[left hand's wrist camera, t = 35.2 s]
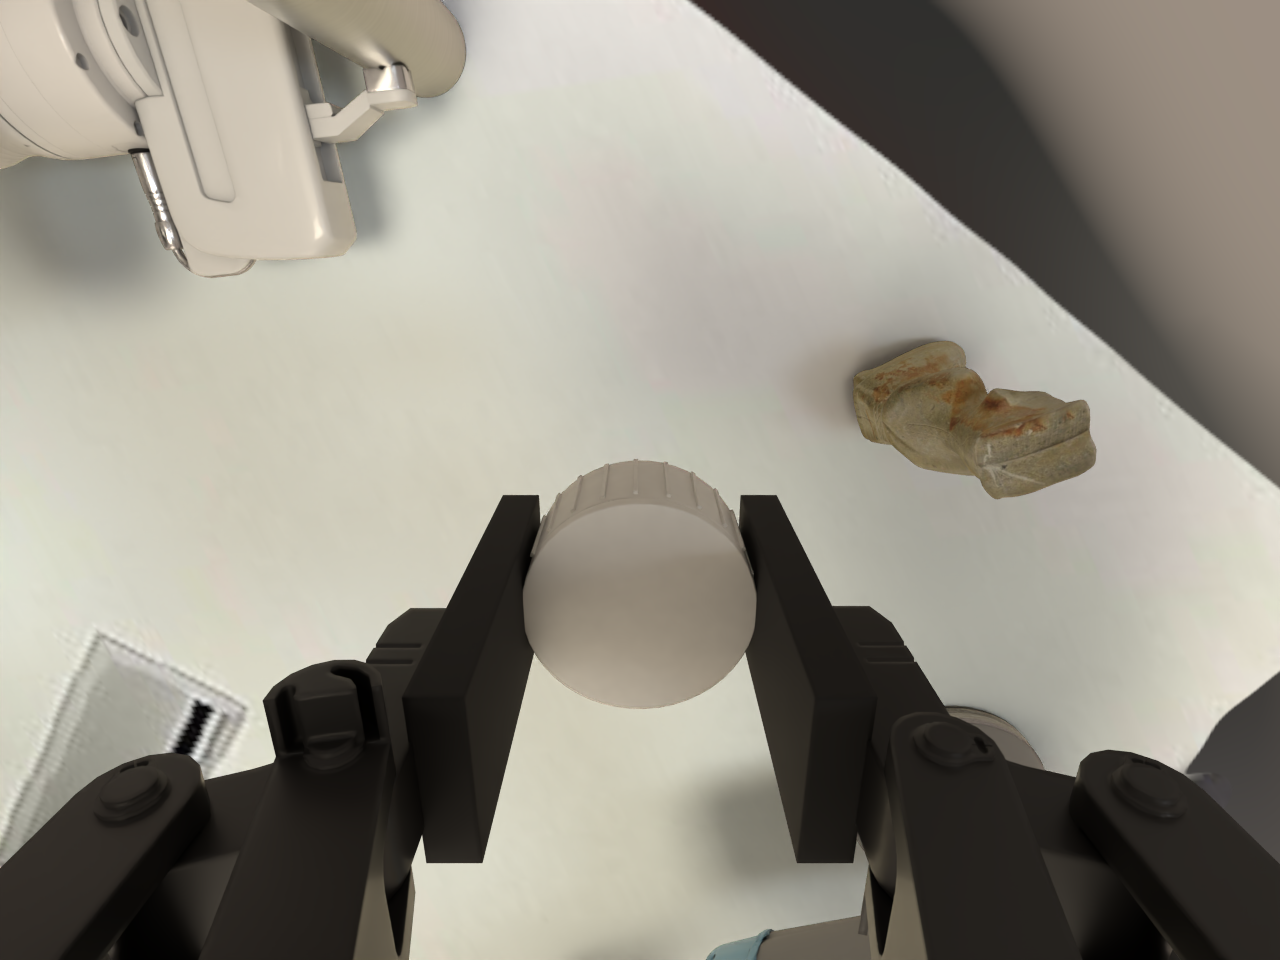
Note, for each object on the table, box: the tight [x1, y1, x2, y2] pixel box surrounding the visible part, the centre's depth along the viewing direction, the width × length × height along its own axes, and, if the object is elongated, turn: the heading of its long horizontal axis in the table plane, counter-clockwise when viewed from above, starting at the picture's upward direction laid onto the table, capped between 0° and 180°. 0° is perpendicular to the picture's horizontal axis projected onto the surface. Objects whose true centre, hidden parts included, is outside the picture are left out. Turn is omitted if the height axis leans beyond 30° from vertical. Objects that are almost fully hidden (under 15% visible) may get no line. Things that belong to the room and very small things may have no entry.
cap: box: [523, 459, 757, 709], centre depth 14 cm, size 4×4×2 cm
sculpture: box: [853, 341, 1096, 499], centre depth 36 cm, size 6×7×15 cm
